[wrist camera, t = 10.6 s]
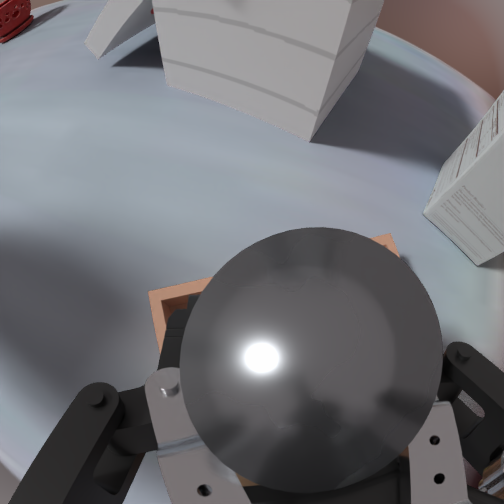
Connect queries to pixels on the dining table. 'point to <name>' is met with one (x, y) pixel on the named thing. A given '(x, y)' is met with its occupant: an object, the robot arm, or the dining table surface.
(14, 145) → the dining table surface
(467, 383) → the robot arm
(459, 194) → the supplement box
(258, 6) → the pizza boxes
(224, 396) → the disc
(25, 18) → the plant pot
